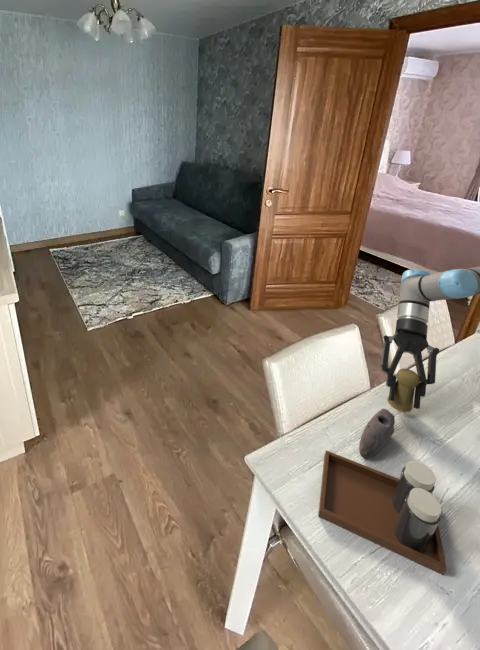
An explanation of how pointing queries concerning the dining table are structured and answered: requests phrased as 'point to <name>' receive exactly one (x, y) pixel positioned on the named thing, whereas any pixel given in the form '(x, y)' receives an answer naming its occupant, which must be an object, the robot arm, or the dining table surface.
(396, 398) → the cork
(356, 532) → the spice tray
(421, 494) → the shaker
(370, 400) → the dining table surface
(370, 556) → the dining table surface
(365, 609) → the dining table surface
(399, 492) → the shaker
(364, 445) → the perforated stone tool
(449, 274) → the robot arm
